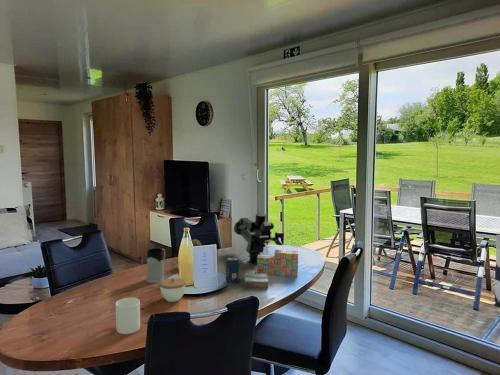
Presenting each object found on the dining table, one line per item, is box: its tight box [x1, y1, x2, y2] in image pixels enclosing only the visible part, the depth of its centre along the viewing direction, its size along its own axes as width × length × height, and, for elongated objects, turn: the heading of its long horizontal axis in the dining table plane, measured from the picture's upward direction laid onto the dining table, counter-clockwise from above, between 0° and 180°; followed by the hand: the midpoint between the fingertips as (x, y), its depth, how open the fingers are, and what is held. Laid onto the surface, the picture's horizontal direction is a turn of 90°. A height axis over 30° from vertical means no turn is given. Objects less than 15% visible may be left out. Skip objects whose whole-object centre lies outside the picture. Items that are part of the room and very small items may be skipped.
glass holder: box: [146, 248, 166, 284], centre depth 187 cm, size 9×14×15 cm, turn 164°
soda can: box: [225, 256, 241, 285], centre depth 182 cm, size 7×7×12 cm
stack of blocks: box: [256, 249, 299, 277], centre depth 195 cm, size 21×6×12 cm, turn 84°
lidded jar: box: [159, 277, 186, 303], centre depth 161 cm, size 11×11×9 cm
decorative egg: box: [191, 239, 203, 246], centre depth 207 cm, size 11×11×15 cm
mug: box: [115, 297, 141, 335], centre depth 135 cm, size 12×8×10 cm
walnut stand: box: [244, 272, 269, 289], centre depth 180 cm, size 11×11×4 cm
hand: (273, 245), depth 189 cm, fingers open, 9 cm apart
